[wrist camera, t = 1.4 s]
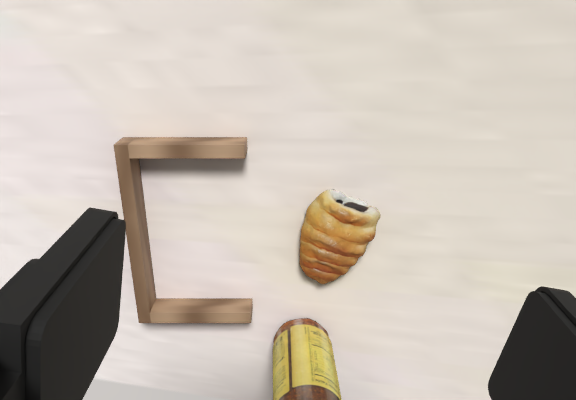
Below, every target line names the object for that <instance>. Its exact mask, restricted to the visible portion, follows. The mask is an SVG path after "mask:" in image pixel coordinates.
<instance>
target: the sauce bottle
mask: <svg viewBox="0 0 576 400" xmlns="http://www.w3.org/2000/svg"><path fill="white" fill-rule="evenodd" d="M273 400H341V395H340V389H339V383H338V377H337V371H336V366H335V361H334V355H333V350H332V344H331V341H330V339H329V337H328V333H327V331H326V330H325V329H324V328H323V327H322V326H321V325H320V324H318V323H317V322H316V321H313V320H311V319H308V318H307V319H295V320H291V321H288V322H286V323H284V324H283V325H282V326H281V327H280V328H279V330H278V331H277V333H276V335H275V337H274V345H273Z"/></svg>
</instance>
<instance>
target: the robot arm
mask: <svg viewBox="0 0 576 400" xmlns="http://www.w3.org/2000/svg"><path fill="white" fill-rule="evenodd" d="M125 232H126V222H125V220H120V219H118V214H117V212H112V211H106V210H101V209H95V208H89V209H87V210H86V211H85V212H84V213H83V214H82V215H81V216H80V218H79V219H78V220H77V221H76V222H75V223H74V224H73V225H72V226H71V227H70V228H69V229H68V230H67V231H66V232H65V233H64V234H63V235H62V236H61V237H60V238H59V239H58V240H57V241H56V242H55V243H54V244H53V245H52V247H51V248H50V249H49V250H48V251H47V252H46V253H45V254H44V255H43V256H42V257H41V258H40V259H32V260H30V261H29V262H27V263H26V264H25V265H24V266H23V267H22V268H21V269H20V270H19V271H18V272H17V273H16V274H15V275H14V276H13V277H12V278H11V279H10V280H9V281H8V282H7V283H6V284H5V285H4V286H3V287H2V288H1V289H0V400H82V399H83V397H84V395H85V393H86V391H87V389H88V388H89V386H90V384H91V382H92V380H93V378H94V376H95V374H96V372H97V370H98V368H99V366H100V364H101V362H102V360H103V358H104V357H105V355H106V353H107V351H108V349H109V347H110V345H111V343H112V341H113V339H114V337H115V334H116V331H117V328H118V322H119V311H120V298H121V285H122V271H123V258H124V245H125ZM488 390H489V395H490V397H491V399H492V400H576V298H575V297H574V296H573V295H572V294H571V293H570V292H568V291H565V290H560V289H554V288H548V287H539V288H538V289H537V290H535V291H532V292H530V293H529V294H528V296H527V298H526V300H525V302H524V304H523V306H522V309H521V311H520V313H519V315H518V317H517V320H516V322H515V324H514V326H513V328H512V331H511V333H510V335H509V337H508V339H507V342H506V344H505V346H504V348H503V350H502V353H501V355H500V357H499V359H498V361H497V363H496V366H495V368H494V370H493V372H492V374H491V377H490V379H489V383H488Z"/></svg>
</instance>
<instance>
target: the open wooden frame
mask: <svg viewBox="0 0 576 400" xmlns="http://www.w3.org/2000/svg"><path fill="white" fill-rule="evenodd" d="M114 151H115V158H116V165H117V172H118V179H119V186H120V193H121V200H122V207H123V214H124V220H125V222H126V235H127V242H128V249H129V256H130V263H131V270H132V277H133V284H134V291H135V298H136V305H137V312H138V319H139V323H251V317H252V309H253V308H252V299H156V294H155V286H154V277H153V269H152V261H151V253H150V245H149V237H148V229H147V221H146V212H145V204H144V196H143V188H142V180H141V172H140V164H139V158H245V156H246V153H247V137H123V138H122V139H120V140H119V141H118V142H117V143H116V144H114Z"/></svg>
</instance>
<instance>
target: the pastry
mask: <svg viewBox="0 0 576 400" xmlns="http://www.w3.org/2000/svg"><path fill="white" fill-rule="evenodd" d="M379 218H380V212H379V211H378V209H377V208H374V207H372V206H369V205H368V203H367V202H365V201H363V200H361V199H356V198H353V197H347V196H345V195H344V194H343V193H341V192H339V191H336V190H327V191H324V192H323V193H321V194H320V195H319V196H318V197H317V198H316V199H315V200H314V201H313V202H312V203H311V204H310V206H309V207H308V209H307V212H306V217H305V220H304V223H303V226H302V229H301V238H300V243H301V244H300V266H301V268H302V270H303V271H304V273H305V274H306V275H307V276H308V277H310V278H312V279H314V280H316V281H317V282H319V283H321V284H325V283H328V282H330V281H334V280H336V279H337V278H338V277H339V276H341V275H344V274H345V273H347V272H348V269H349V268H350V267H351V266H353V265H355V264H356V262H357V260H358V258H359V257H361V256H363V254H364V253H365V250H366V246H367V244H368V242H370V241H372V240H373V239H374V237H375V231H376V224H377V221H378V220H379Z"/></svg>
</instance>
